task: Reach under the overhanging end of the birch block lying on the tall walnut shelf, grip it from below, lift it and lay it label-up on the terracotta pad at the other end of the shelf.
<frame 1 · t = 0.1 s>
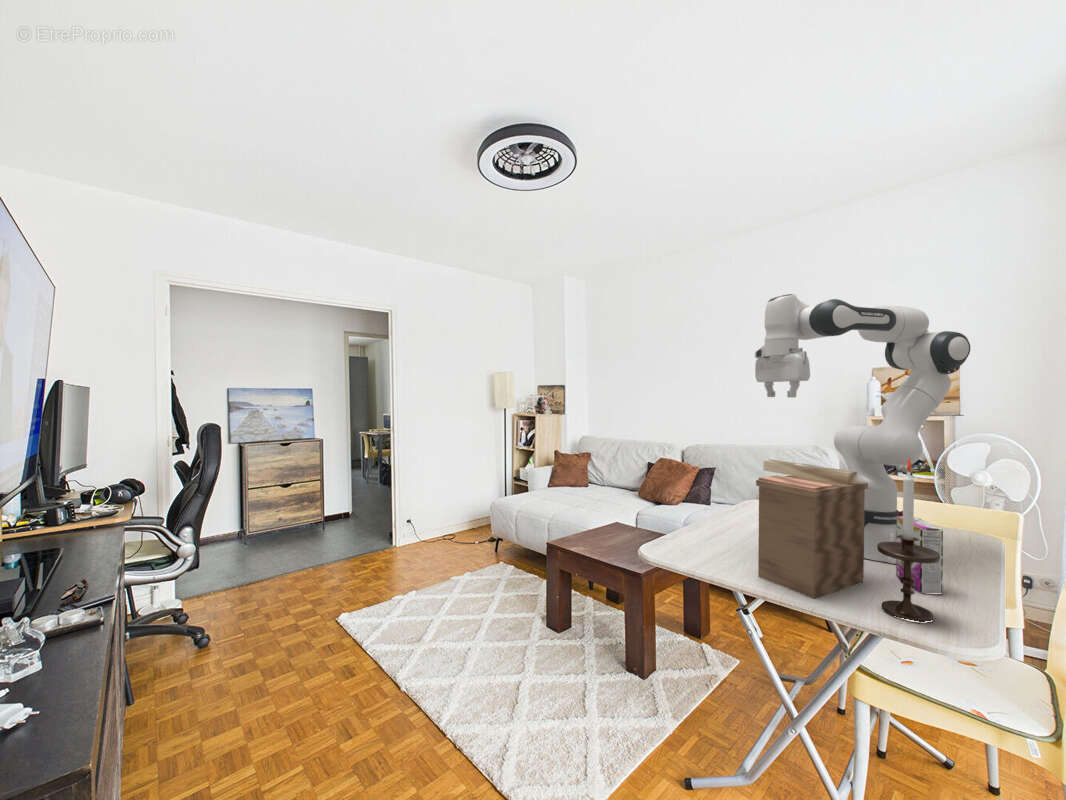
hand: (781, 397, 137), 48 cm above the table, tool pointing down, fingers open, 8 cm apart
candlestick: (906, 614, 104), on the table
candy bar box: (917, 586, 119), on the table
walnut shelf: (810, 579, 123), on the table
birch block: (806, 476, 129), point 26 cm above the table, touching walnut shelf
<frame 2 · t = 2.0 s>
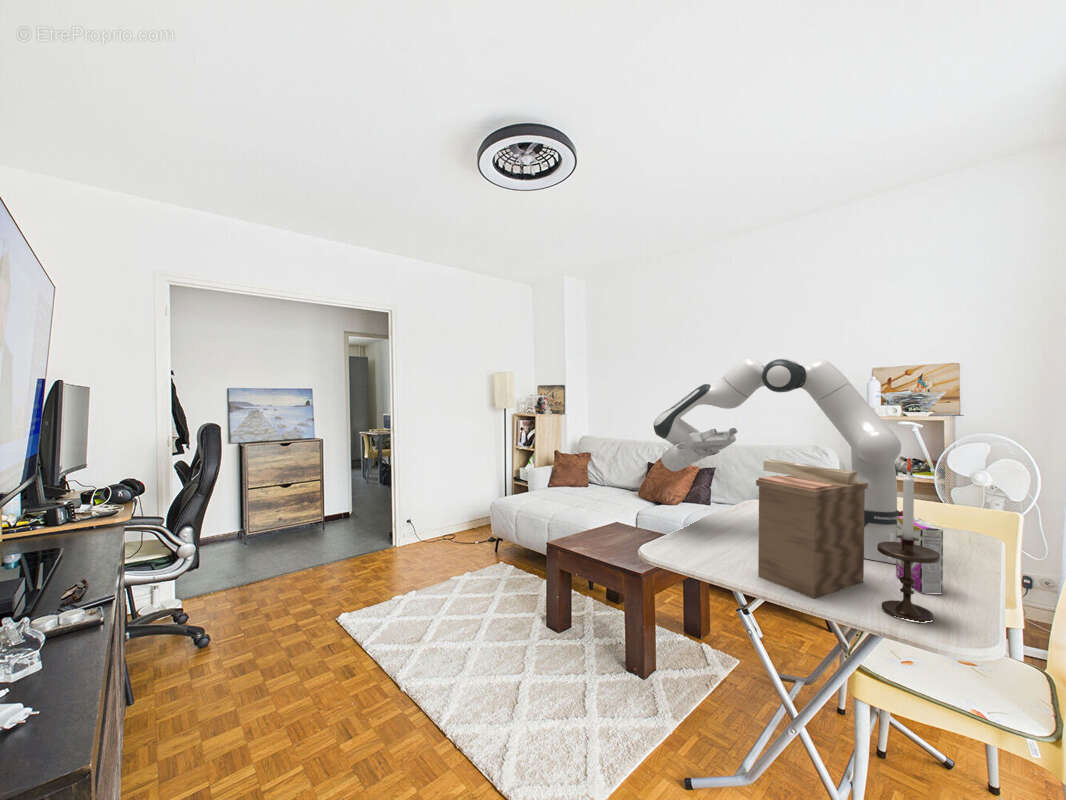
hand: (725, 430, 151), 37 cm above the table, tool pointing upward, fingers open, 8 cm apart
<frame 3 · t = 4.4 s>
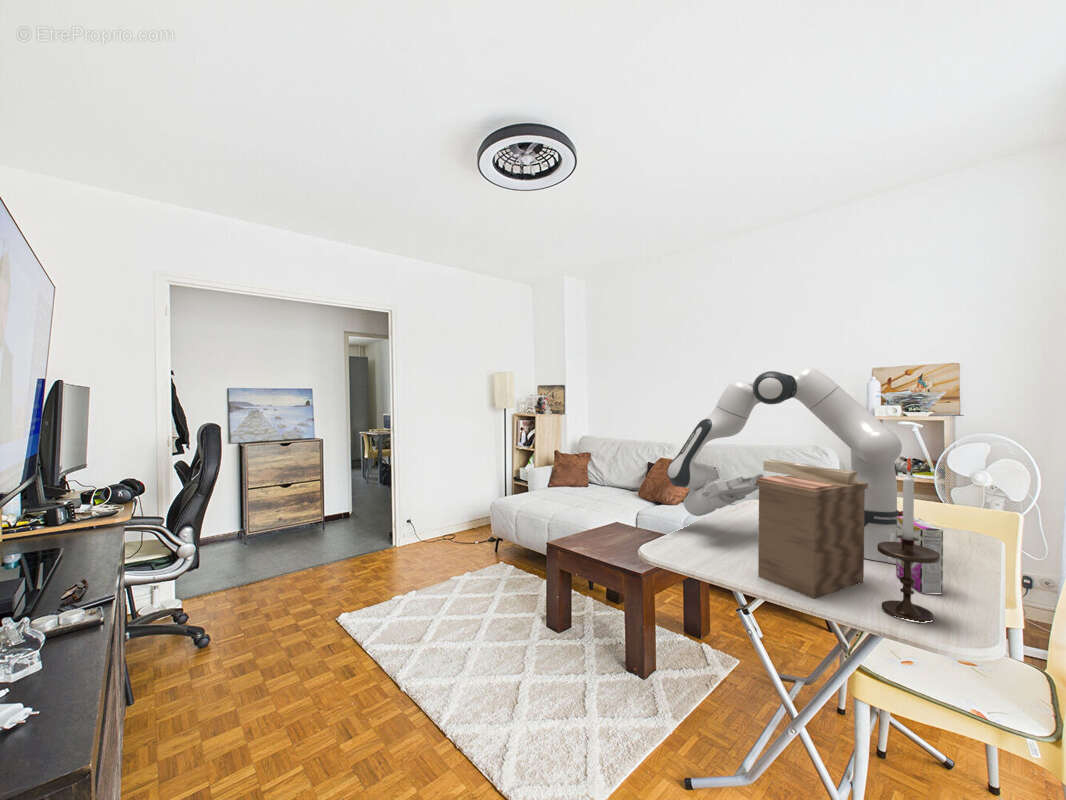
hand: (752, 477, 145), 23 cm above the table, tool pointing upward, fingers open, 8 cm apart
nothing on the table moved.
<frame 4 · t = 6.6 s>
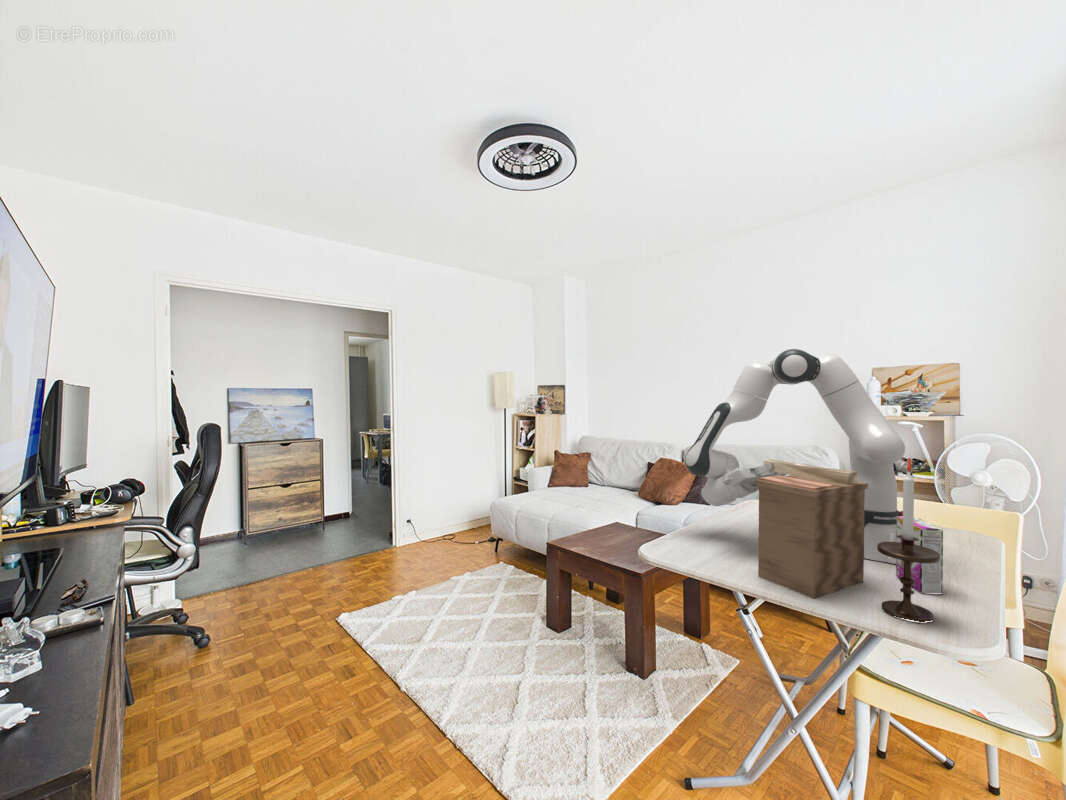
hand: (778, 464, 137), 28 cm above the table, tool pointing upward, fingers closed on birch block, 4 cm apart
birch block: (806, 476, 129), point 26 cm above the table, touching gripper, walnut shelf
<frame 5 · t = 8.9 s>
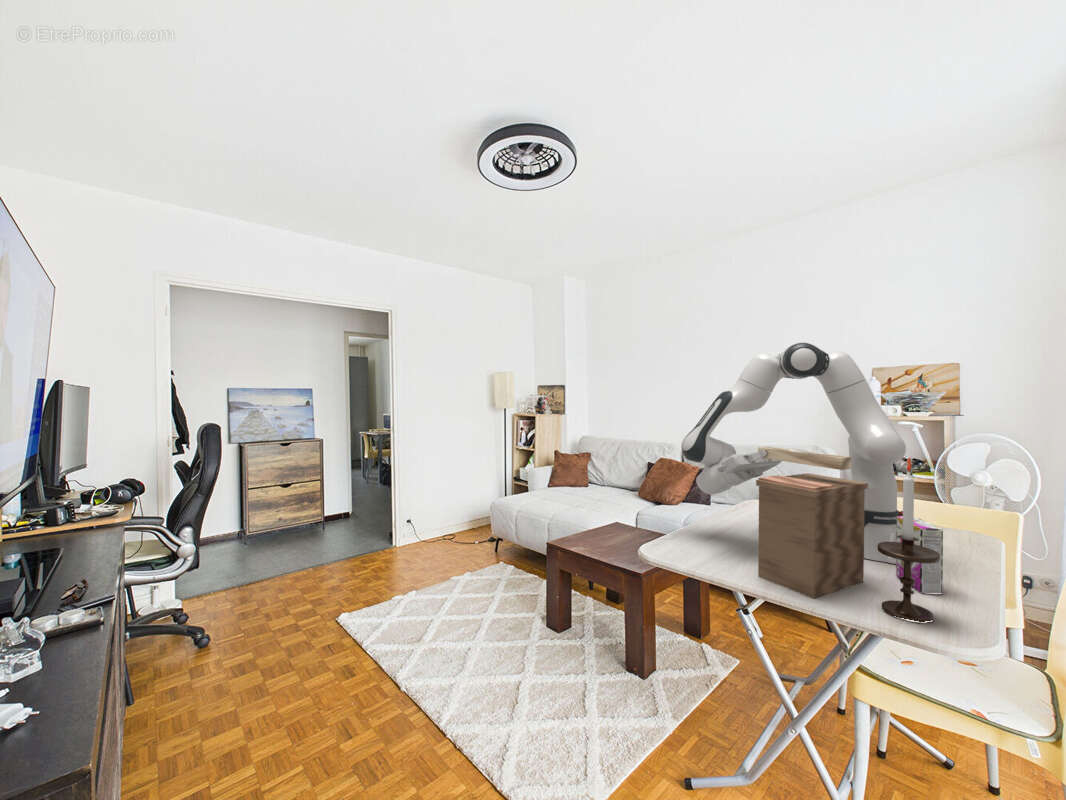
hand: (772, 451, 136), 32 cm above the table, tool pointing upward, fingers closed on birch block, 4 cm apart
birch block: (800, 462, 128), point 30 cm above the table, touching gripper
when the fingers open (30 cm above the table, at t = 11.2 s): birch block drops 1 cm, resting on walnut shelf.
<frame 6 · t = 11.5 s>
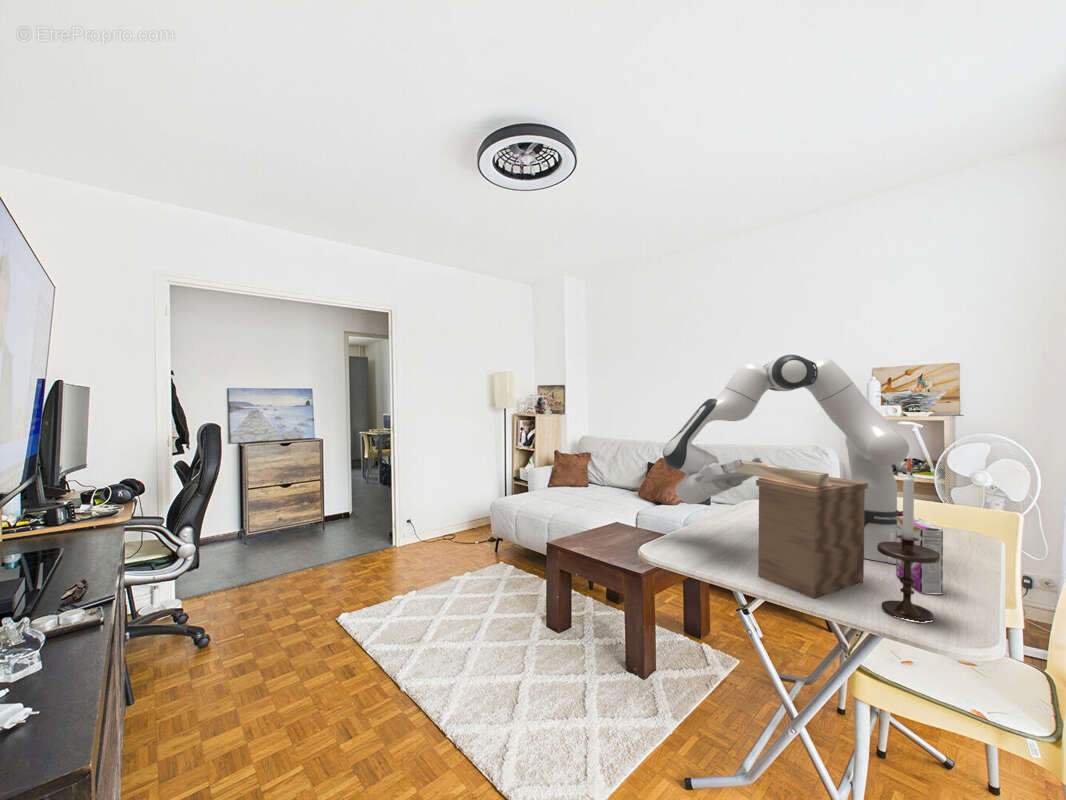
hand: (750, 461, 132), 30 cm above the table, tool pointing upward, fingers open, 7 cm apart
birch block: (778, 478, 124), point 26 cm above the table, touching walnut shelf
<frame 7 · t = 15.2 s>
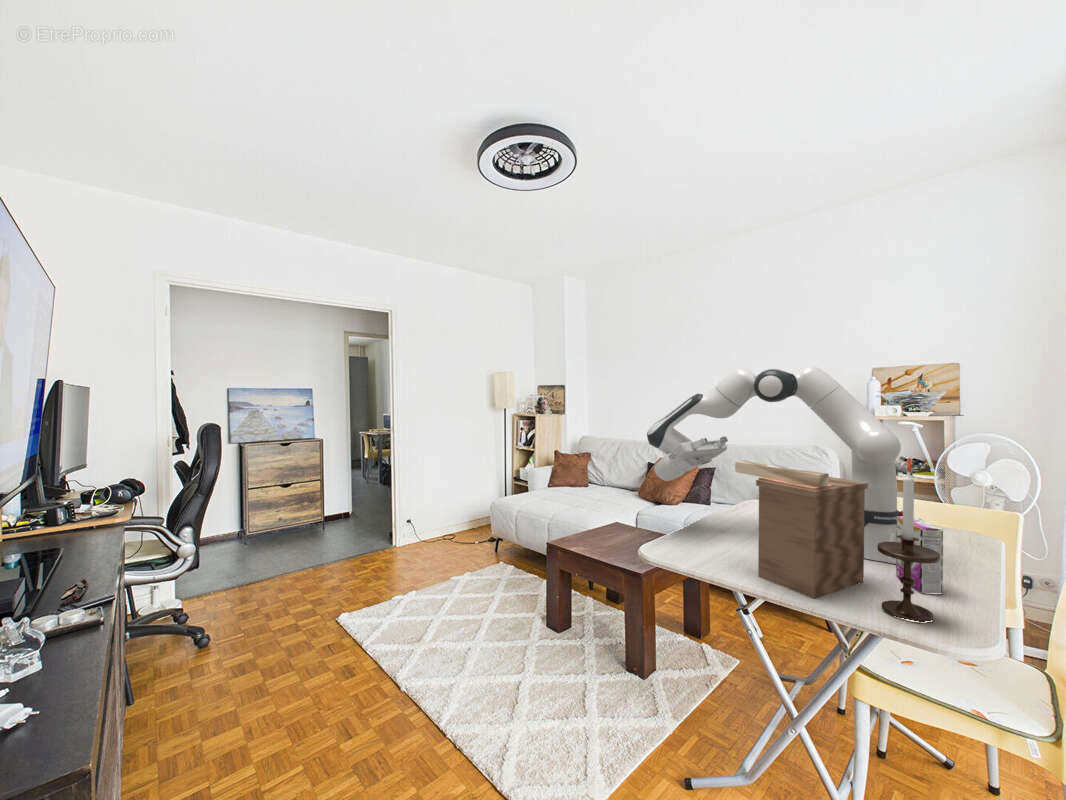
hand: (715, 439, 151), 34 cm above the table, tool pointing upward, fingers open, 8 cm apart
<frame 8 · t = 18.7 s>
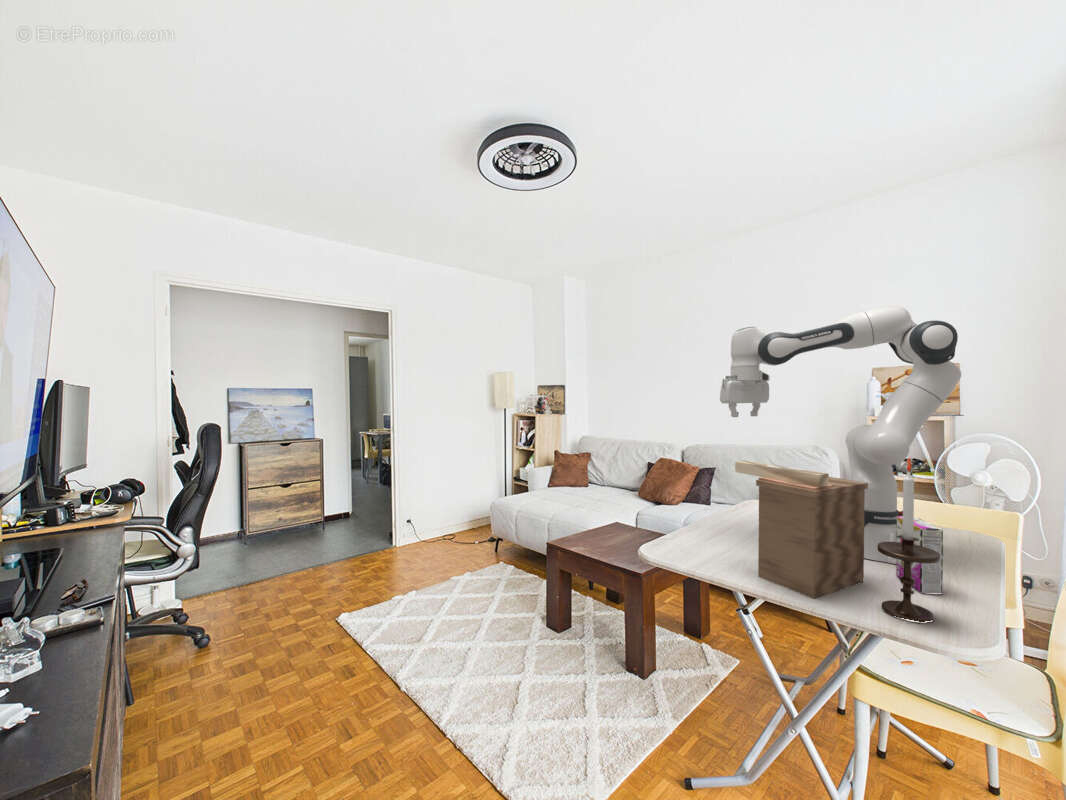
hand: (744, 416, 157), 41 cm above the table, tool pointing down, fingers open, 8 cm apart
at the end: birch block 0.2 cm from the target spot, point 26.5 cm above the table; birch block tilted 0°; the gripper is holding nothing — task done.
